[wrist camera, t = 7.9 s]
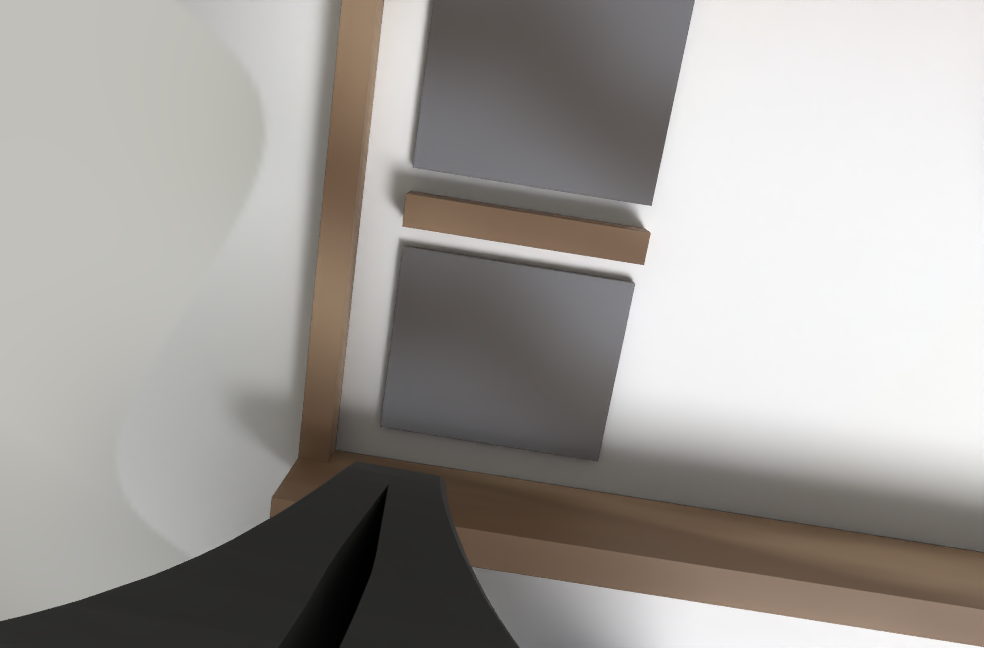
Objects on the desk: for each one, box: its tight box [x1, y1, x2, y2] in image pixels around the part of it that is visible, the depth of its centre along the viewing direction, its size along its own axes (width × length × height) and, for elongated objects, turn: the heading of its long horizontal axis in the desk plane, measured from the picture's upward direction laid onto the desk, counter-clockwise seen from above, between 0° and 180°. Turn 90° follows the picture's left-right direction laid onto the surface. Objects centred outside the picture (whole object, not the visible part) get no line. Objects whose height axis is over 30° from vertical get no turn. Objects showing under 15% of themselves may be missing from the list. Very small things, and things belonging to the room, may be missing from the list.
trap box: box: [270, 0, 984, 647], centre depth 17 cm, size 16×30×3 cm, turn 81°
